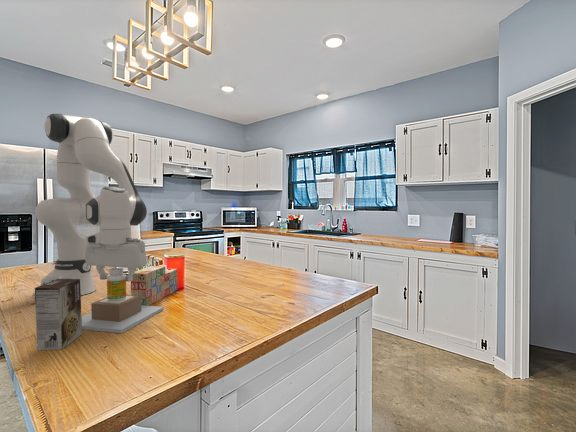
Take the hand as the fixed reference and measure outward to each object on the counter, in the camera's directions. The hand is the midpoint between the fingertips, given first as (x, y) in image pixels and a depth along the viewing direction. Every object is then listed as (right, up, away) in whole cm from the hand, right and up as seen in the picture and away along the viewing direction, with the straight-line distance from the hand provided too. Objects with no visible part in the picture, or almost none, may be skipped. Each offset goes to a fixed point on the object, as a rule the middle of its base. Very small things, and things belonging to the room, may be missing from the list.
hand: (116, 280), depth 100 cm
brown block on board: (0, -12, 0) cm, 12 cm away
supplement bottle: (0, -6, 0) cm, 6 cm away
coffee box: (-5, -13, -17) cm, 22 cm away
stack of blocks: (+3, -12, +22) cm, 26 cm away
